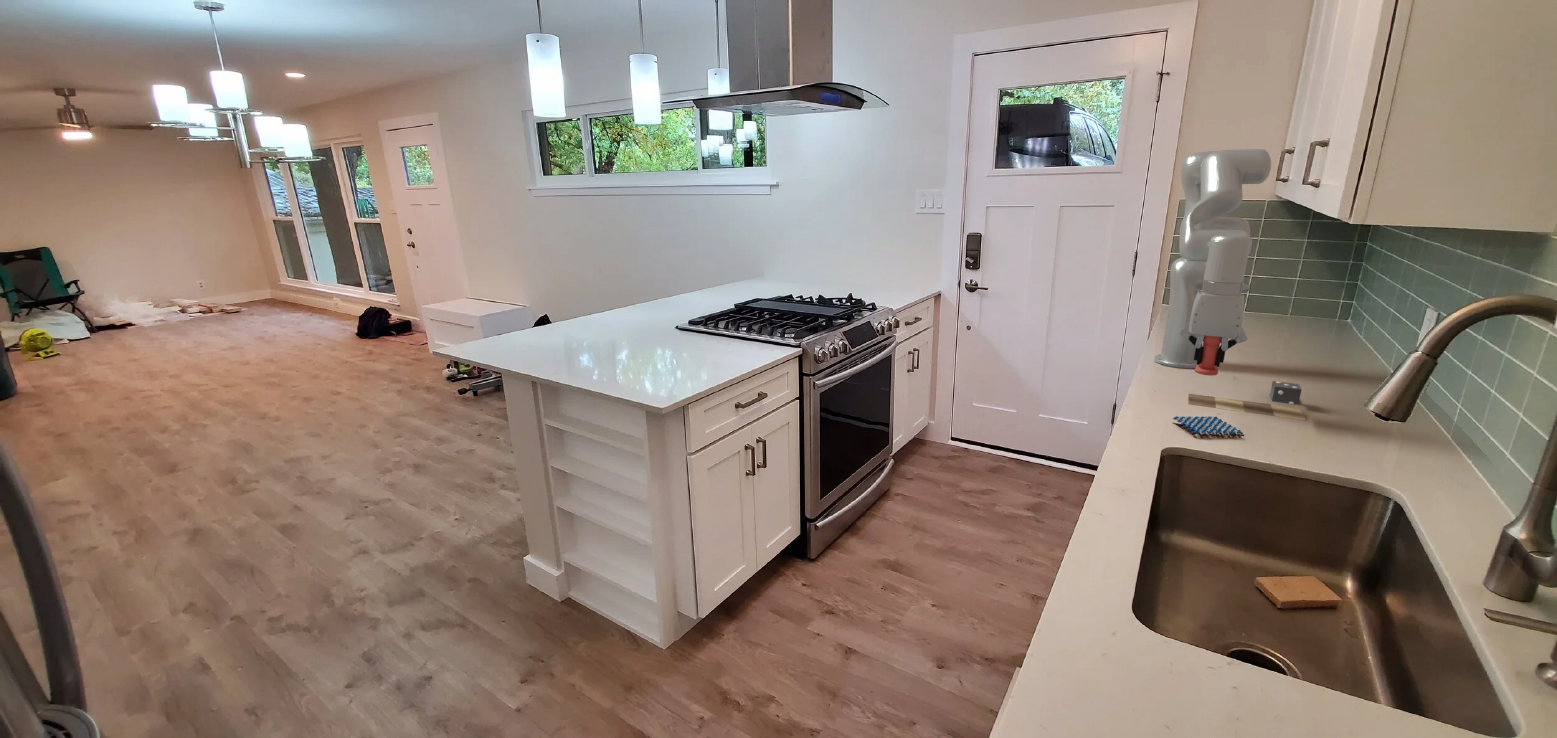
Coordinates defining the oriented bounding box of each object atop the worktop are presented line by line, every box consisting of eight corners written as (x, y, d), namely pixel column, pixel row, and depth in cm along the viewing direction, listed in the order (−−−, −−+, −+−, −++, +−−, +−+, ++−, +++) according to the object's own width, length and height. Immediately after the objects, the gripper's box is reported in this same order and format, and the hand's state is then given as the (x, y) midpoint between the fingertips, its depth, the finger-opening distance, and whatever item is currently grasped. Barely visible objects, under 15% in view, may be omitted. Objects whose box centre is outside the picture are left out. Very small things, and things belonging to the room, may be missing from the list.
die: (1268, 400, 156) (1272, 380, 155) (1294, 403, 154) (1298, 383, 152) (1270, 406, 152) (1275, 386, 150) (1297, 409, 149) (1301, 389, 148)
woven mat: (1246, 441, 133) (1248, 432, 133) (1194, 441, 134) (1196, 432, 133) (1215, 423, 143) (1217, 415, 143) (1167, 423, 144) (1169, 415, 143)
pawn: (1194, 368, 155) (1202, 327, 152) (1217, 371, 152) (1225, 329, 149) (1194, 373, 151) (1202, 332, 148) (1217, 376, 149) (1225, 334, 145)
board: (1187, 398, 158) (1188, 393, 158) (1298, 412, 147) (1300, 408, 147) (1187, 408, 151) (1188, 404, 151) (1304, 425, 140) (1305, 420, 139)
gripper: (1264, 288, 144) (1248, 364, 150) (1180, 283, 153) (1168, 356, 158) (1267, 294, 138) (1250, 373, 144) (1179, 288, 147) (1167, 364, 152)
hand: (1207, 363), depth 151 cm, fingers closed on pawn, 3 cm apart
